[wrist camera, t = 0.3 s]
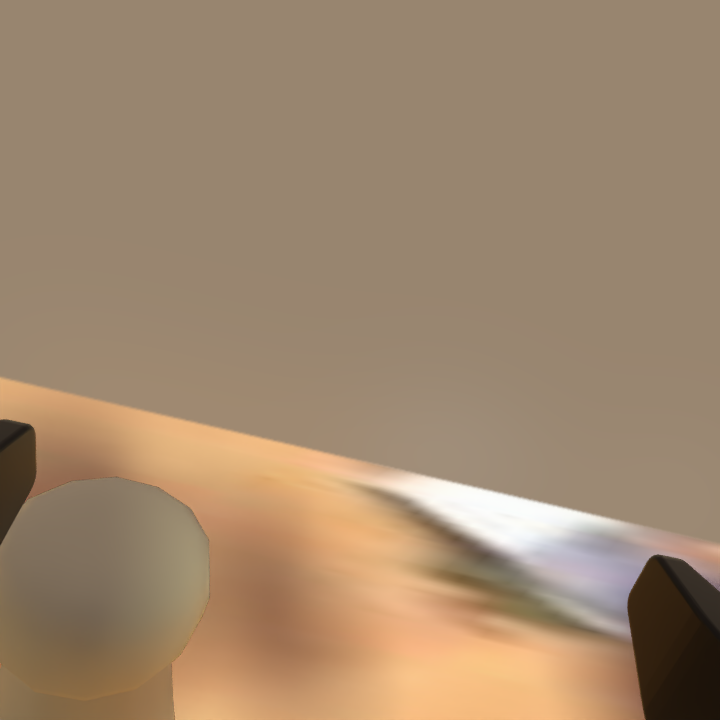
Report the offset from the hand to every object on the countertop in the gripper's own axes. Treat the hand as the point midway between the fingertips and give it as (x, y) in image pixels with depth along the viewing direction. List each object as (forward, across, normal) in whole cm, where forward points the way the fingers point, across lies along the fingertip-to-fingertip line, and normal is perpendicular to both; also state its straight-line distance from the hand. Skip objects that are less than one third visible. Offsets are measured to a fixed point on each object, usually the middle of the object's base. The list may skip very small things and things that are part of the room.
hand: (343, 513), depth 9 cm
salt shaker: (+3, +6, +16) cm, 18 cm away
